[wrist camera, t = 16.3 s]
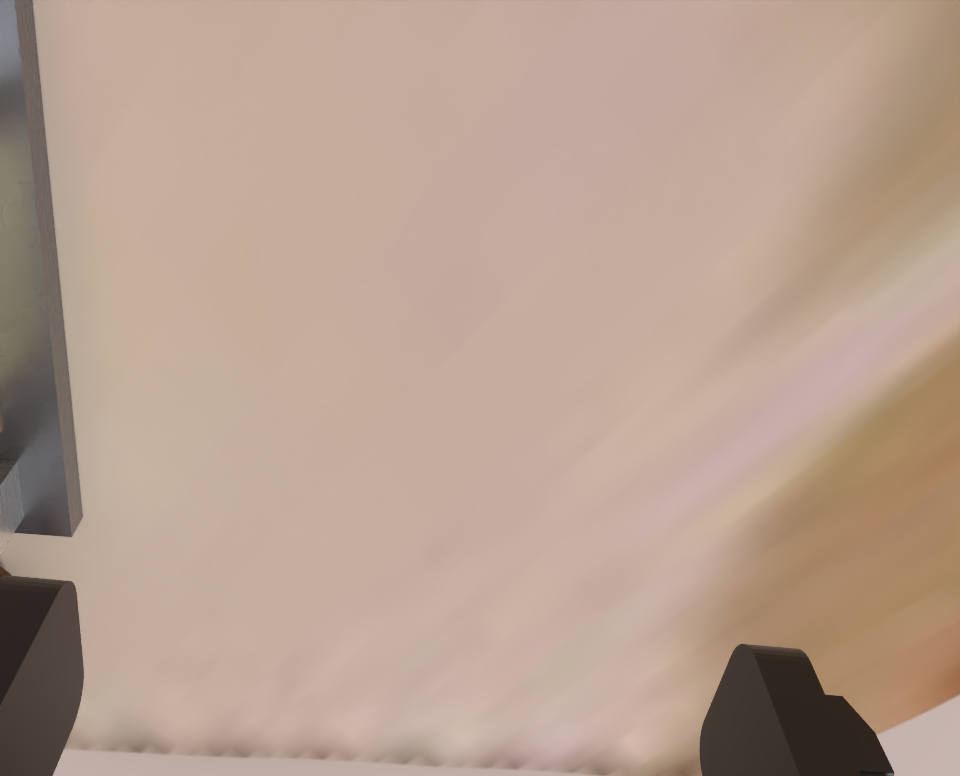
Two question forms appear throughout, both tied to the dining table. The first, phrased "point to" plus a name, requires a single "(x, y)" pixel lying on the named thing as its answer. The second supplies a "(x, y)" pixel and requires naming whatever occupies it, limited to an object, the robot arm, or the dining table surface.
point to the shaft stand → (30, 307)
